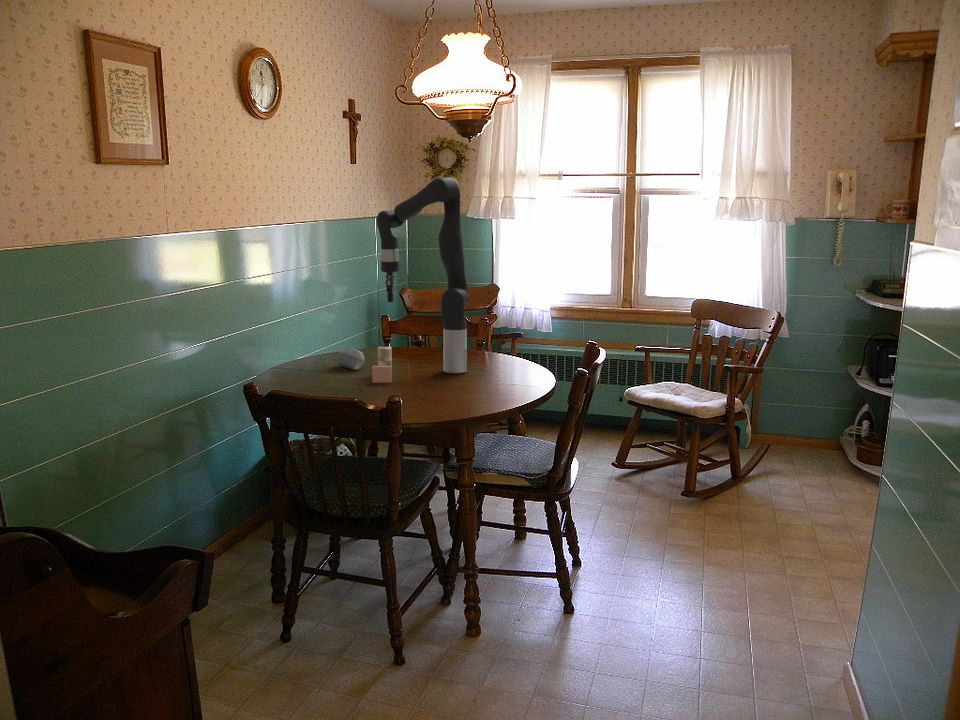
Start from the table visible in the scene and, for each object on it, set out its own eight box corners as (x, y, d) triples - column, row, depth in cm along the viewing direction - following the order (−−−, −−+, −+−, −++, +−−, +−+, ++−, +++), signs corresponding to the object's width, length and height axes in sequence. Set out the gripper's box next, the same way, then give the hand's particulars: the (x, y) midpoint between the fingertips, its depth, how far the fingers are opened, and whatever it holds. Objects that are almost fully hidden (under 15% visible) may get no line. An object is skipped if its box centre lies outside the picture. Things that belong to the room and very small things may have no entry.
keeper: (391, 373, 300) (391, 346, 298) (390, 375, 296) (390, 348, 294) (379, 373, 300) (379, 346, 298) (378, 375, 296) (377, 348, 294)
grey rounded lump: (327, 359, 311) (339, 337, 310) (345, 366, 318) (357, 345, 317) (342, 373, 301) (355, 351, 301) (360, 380, 308) (373, 359, 307)
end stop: (391, 381, 288) (391, 366, 286) (391, 382, 286) (391, 366, 285) (372, 381, 287) (372, 366, 286) (372, 382, 286) (372, 366, 285)
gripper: (397, 261, 310) (398, 304, 314) (400, 258, 323) (400, 300, 327) (379, 261, 310) (379, 304, 313) (382, 258, 323) (383, 299, 327)
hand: (390, 301), depth 320 cm, fingers closed
